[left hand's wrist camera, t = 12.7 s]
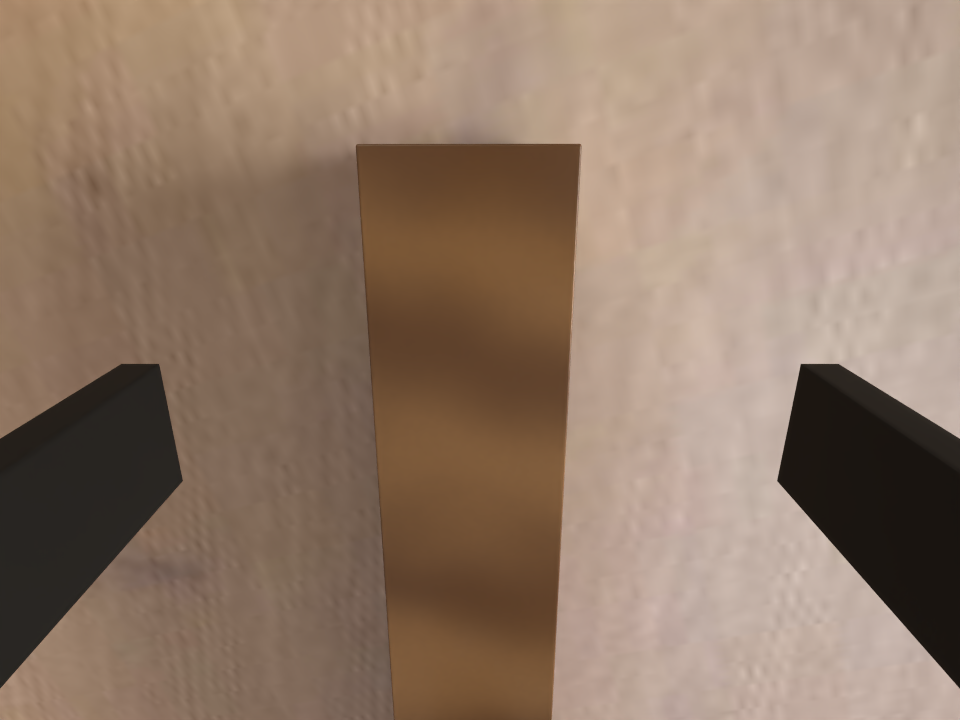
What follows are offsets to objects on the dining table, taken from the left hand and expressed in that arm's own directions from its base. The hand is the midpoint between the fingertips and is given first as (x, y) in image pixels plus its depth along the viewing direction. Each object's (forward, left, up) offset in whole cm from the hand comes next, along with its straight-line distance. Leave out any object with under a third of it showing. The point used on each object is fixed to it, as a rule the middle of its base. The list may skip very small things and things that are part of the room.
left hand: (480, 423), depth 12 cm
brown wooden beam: (+21, +4, -14) cm, 26 cm away
